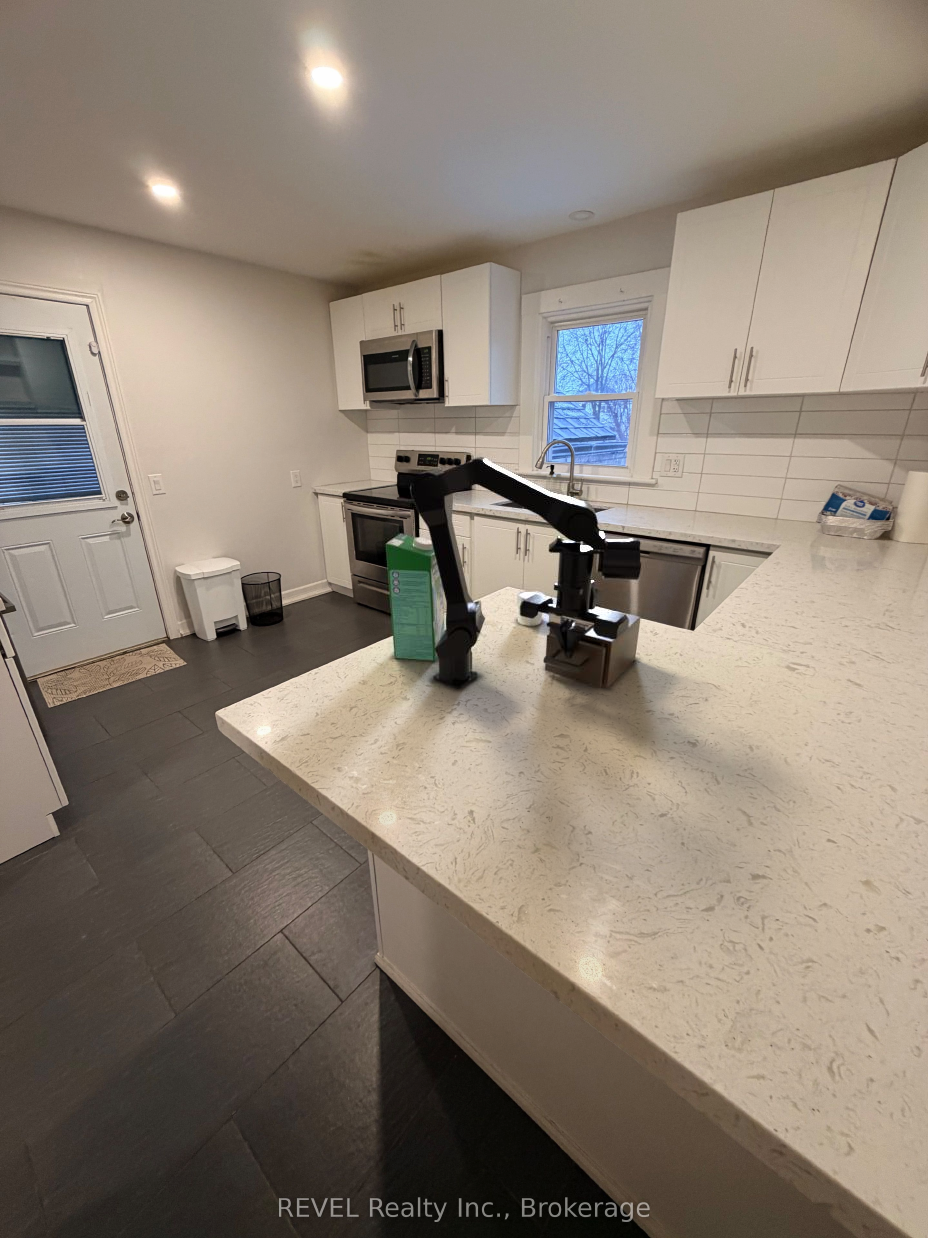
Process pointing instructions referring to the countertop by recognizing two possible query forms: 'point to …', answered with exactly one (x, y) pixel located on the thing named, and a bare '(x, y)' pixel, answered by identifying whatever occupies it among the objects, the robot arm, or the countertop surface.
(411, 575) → the milk carton
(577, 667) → the drawer
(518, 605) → the white cup
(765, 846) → the countertop surface
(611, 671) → the cabinet
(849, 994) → the countertop surface
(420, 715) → the countertop surface
